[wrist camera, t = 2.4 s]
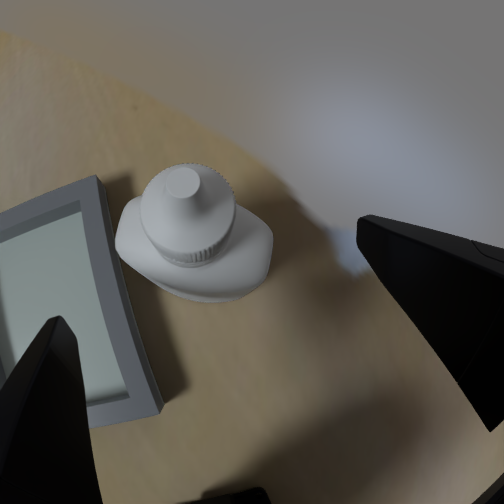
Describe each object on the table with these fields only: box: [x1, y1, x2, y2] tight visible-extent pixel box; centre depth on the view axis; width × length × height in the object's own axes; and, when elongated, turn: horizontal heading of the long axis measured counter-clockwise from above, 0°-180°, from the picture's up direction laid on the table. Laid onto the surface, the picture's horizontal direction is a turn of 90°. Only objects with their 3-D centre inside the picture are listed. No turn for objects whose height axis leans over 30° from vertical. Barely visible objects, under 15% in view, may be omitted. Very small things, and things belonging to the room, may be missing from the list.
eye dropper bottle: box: [115, 163, 274, 303], centre depth 12 cm, size 4×6×12 cm
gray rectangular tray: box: [0, 175, 165, 428], centre depth 15 cm, size 13×11×2 cm
